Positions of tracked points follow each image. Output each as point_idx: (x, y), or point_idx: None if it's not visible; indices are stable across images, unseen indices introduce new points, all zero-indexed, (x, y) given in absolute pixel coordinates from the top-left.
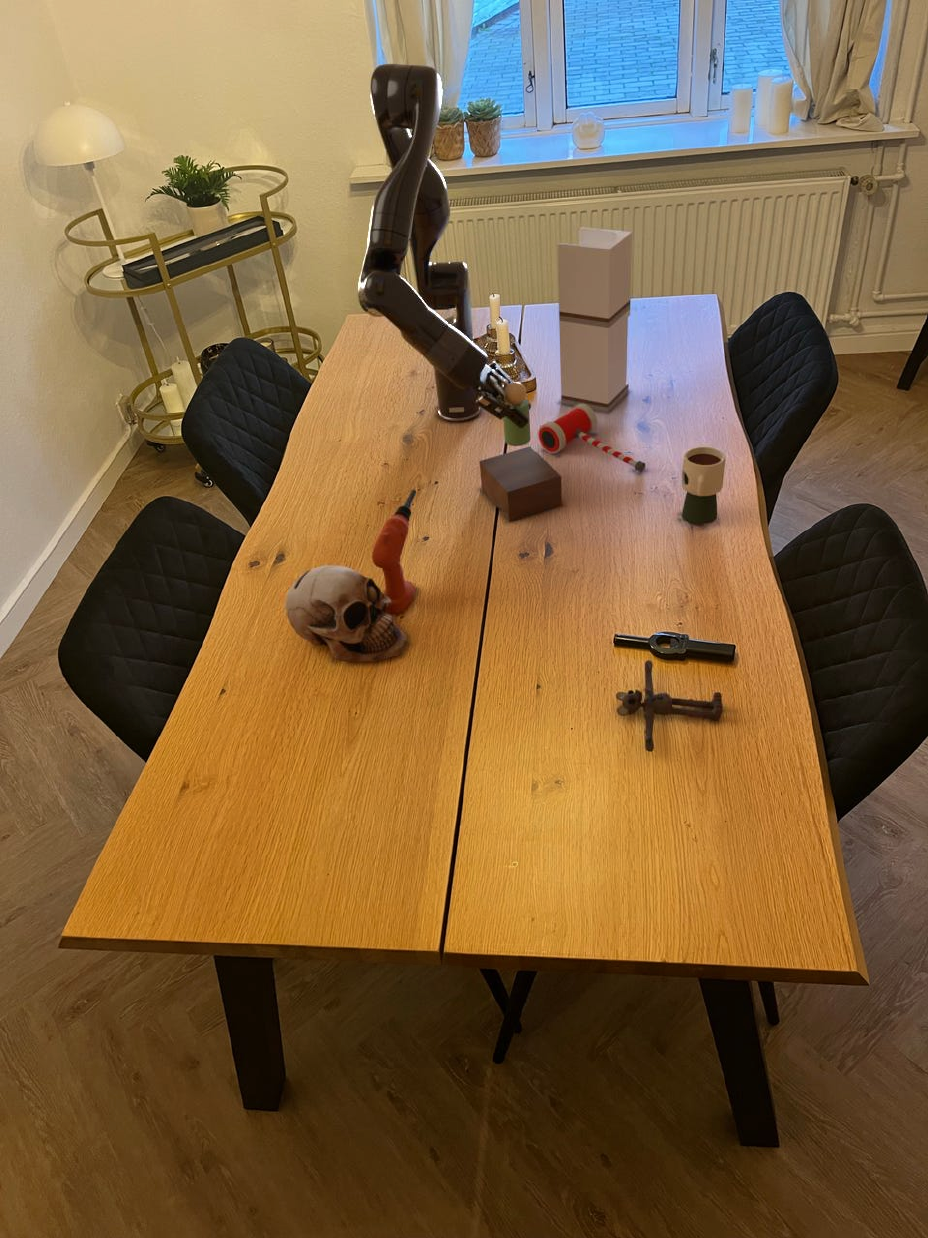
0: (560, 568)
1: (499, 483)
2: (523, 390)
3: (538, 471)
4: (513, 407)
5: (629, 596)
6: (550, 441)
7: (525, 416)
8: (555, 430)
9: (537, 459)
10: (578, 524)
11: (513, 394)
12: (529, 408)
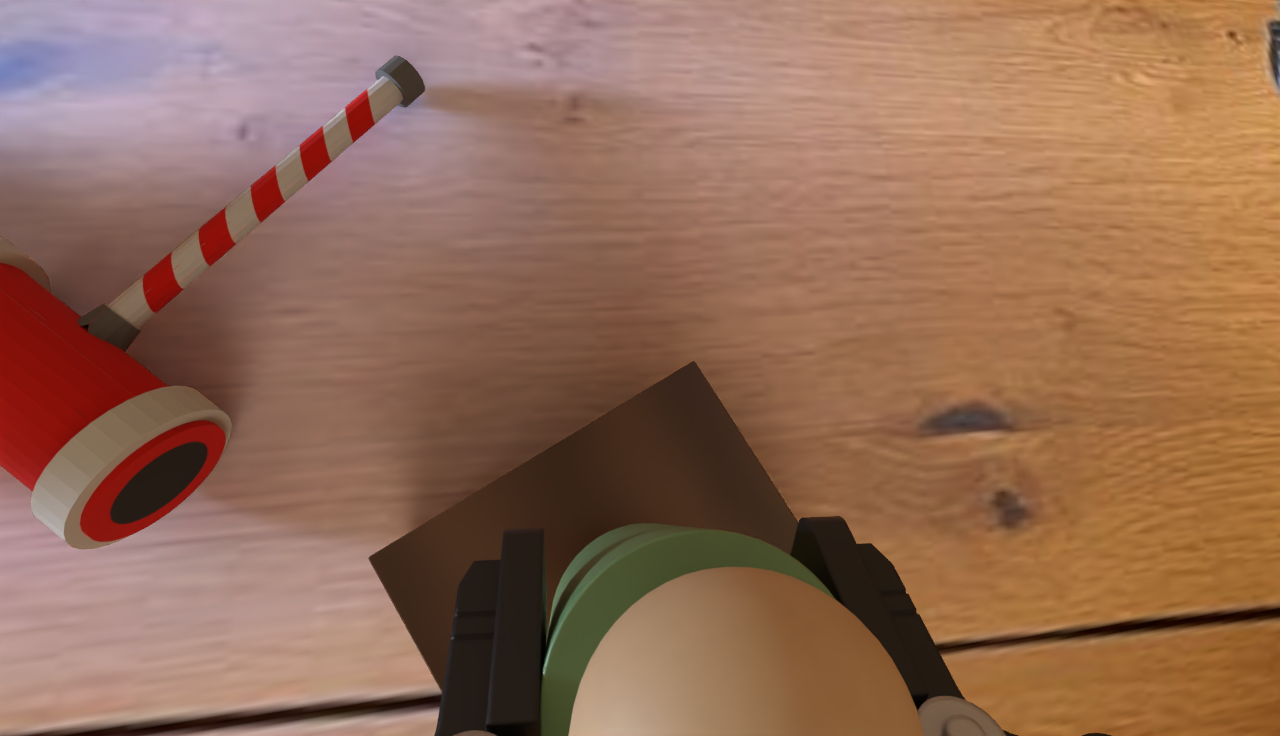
0: (1061, 369)
1: None
2: (819, 606)
3: (656, 480)
4: (956, 704)
5: (1153, 156)
6: (177, 471)
7: (838, 548)
8: (153, 432)
9: (529, 499)
10: (794, 320)
11: None
12: (544, 541)
